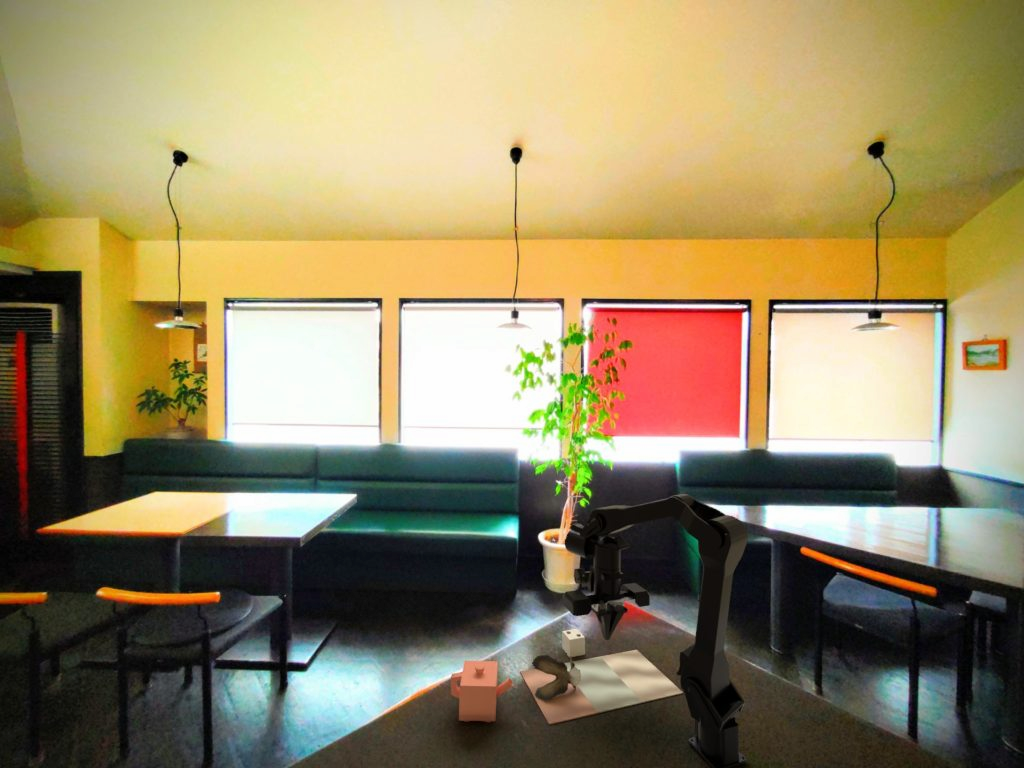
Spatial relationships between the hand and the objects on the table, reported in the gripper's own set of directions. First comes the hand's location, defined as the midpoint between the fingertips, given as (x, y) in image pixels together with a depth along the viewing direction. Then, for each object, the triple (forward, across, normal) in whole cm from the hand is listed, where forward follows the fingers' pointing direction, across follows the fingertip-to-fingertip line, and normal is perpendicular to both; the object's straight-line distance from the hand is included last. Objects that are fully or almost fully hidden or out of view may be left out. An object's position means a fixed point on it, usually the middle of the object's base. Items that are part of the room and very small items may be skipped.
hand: (606, 639), depth 89 cm
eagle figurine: (+8, +12, 0) cm, 15 cm away
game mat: (+8, +2, 0) cm, 9 cm away
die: (+9, +2, -12) cm, 15 cm away
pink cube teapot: (+9, +28, +1) cm, 29 cm away
